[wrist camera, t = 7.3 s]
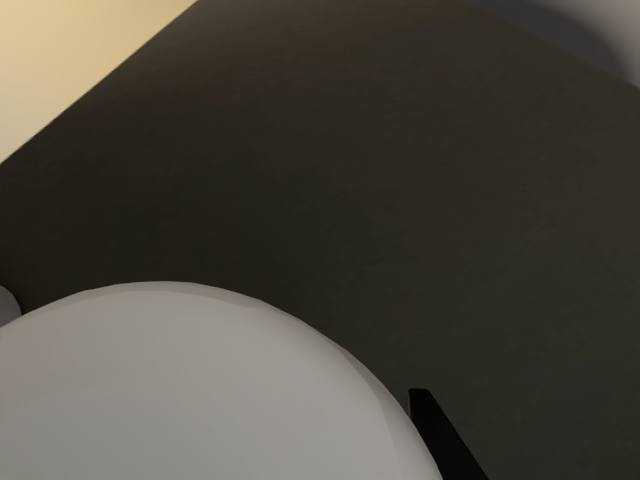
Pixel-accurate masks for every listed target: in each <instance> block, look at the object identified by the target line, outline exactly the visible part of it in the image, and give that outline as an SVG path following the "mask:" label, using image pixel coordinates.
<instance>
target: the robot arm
mask: <svg viewBox="0 0 640 480" xmlns="http://www.w3.org/2000/svg"><path fill="white" fill-rule="evenodd" d="M408 417H409V419H410V420H411V421H412V423H413V424H414V426H415V427H416V429H417V431H418V433H419V434H420V436H421V438H422V440H423V441H424V443H425V445H426V447H427V448H428V450H429V452H430V454H431V455H432V457H433V459H434V461H435V463H436V465H437V467H438V470H439V472H440V474H441V476H442V479H443V480H489V479H488V478H487V476H486V475H485V473H484V472H483V470H482V469H481V467H480V466H479V464H478V463H477V461H476V460H475V458H474V457H473V455H472V454H471V452H470V451H469V449H468V448H467V446H466V445H465V443H464V442H463V440H462V439H461V437H460V436H459V434H458V433H457V431H456V430H455V428H454V427H453V425H452V424H451V422H450V421H449V419H448V418H447V416H446V415H445V414H444V412H443V411H442V409H441V408H440V406H439V405H438V403H437V402H436V400H435V399H434V397H433V396H432V394H431V393H430V391H429V390H427V389H416V388H411V389H409V390H408Z"/></svg>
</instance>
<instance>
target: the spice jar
mask: <svg viewBox="0 0 640 480" xmlns="http://www.w3.org/2000/svg"><path fill="white" fill-rule="evenodd" d="M0 480H443V479H442V476H441V474H440V472H439V470H438V467H437V465H436V463H435V461H434V459H433V457H432V455H431V454H430V452H429V450H428V448H427V447H426V445H425V443H424V441H423V440H422V438H421V436H420V434H419V433H418V431H417V429H416V427H415V426H414V424H413V423H412V421H411V420H410V419H409V417H408V416H407V414H406V413H405V412H404V410H403V409H402V407H401V406H400V404H399V403H398V402H397V401H396V399H395V398H394V397H393V396H392V395H391V393H390V392H389V391H388V390H387V389H386V387H385V386H384V385H383V384H382V383H381V382H380V381H379V380H378V379H377V378H376V377H375V376H374V375H373V374H372V373H371V372H370V371H369V370H368V369H367V368H366V367H365V366H364V365H363V364H362V363H361V362H359V361H358V360H357V359H356V358H355V357H354V356H352V355H351V354H350V353H349V352H348V351H346V350H345V349H344V348H342V347H341V346H339V345H338V344H336V343H335V342H333V341H332V340H330V339H329V338H327V337H326V336H324V335H323V334H321V333H320V332H318V331H317V330H315V329H314V328H312V327H311V326H309V325H307V324H306V323H304V322H303V321H301V320H300V319H298V318H296V317H294V316H292V315H290V314H287V313H285V312H283V311H281V310H279V309H277V308H275V307H273V306H271V305H269V304H267V303H265V302H263V301H261V300H258V299H255V298H252V297H249V296H245V295H242V294H239V293H236V292H232V291H229V290H225V289H222V288H218V287H212V286H207V285H201V284H196V283H188V282H172V281H158V282H137V283H127V284H117V285H111V286H107V287H102V288H97V289H92V290H87V291H82V292H79V293H76V294H73V295H71V296H68V297H65V298H63V299H60V300H58V301H55V302H53V303H50V304H48V305H46V306H43V307H41V308H39V309H36V310H34V311H32V312H29V313H27V314H25V315H23V316H21V317H19V318H17V319H16V320H14V321H12V322H10V323H8V324H6V325H5V326H3V327H1V328H0Z"/></svg>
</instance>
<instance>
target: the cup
mask: <svg viewBox="0 0 640 480" xmlns="http://www.w3.org/2000/svg"><path fill="white" fill-rule="evenodd" d="M21 316H22V313H21V308H20V306H19V305H18V303H17V301H16V299H15V298H14V296H13V294H12V293H10V292H9V291H8V290H7V289H5V288H4V287H2V286H0V328H1V327H3V326H5V325H6V324H8V323H10V322H12V321H14V320H16V319H17V318H19V317H21Z"/></svg>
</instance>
